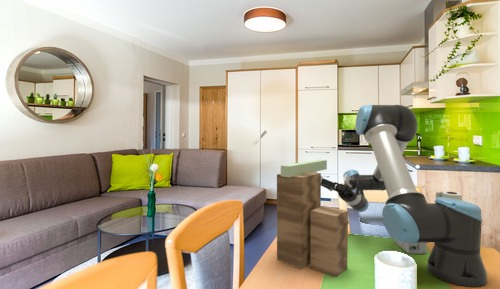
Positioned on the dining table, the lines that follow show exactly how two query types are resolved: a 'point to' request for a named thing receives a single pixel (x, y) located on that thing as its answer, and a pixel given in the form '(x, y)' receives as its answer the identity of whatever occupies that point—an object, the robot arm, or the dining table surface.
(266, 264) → the dining table surface
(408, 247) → the light bulb box
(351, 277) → the dining table surface
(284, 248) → the walnut stand
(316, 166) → the sage bar
